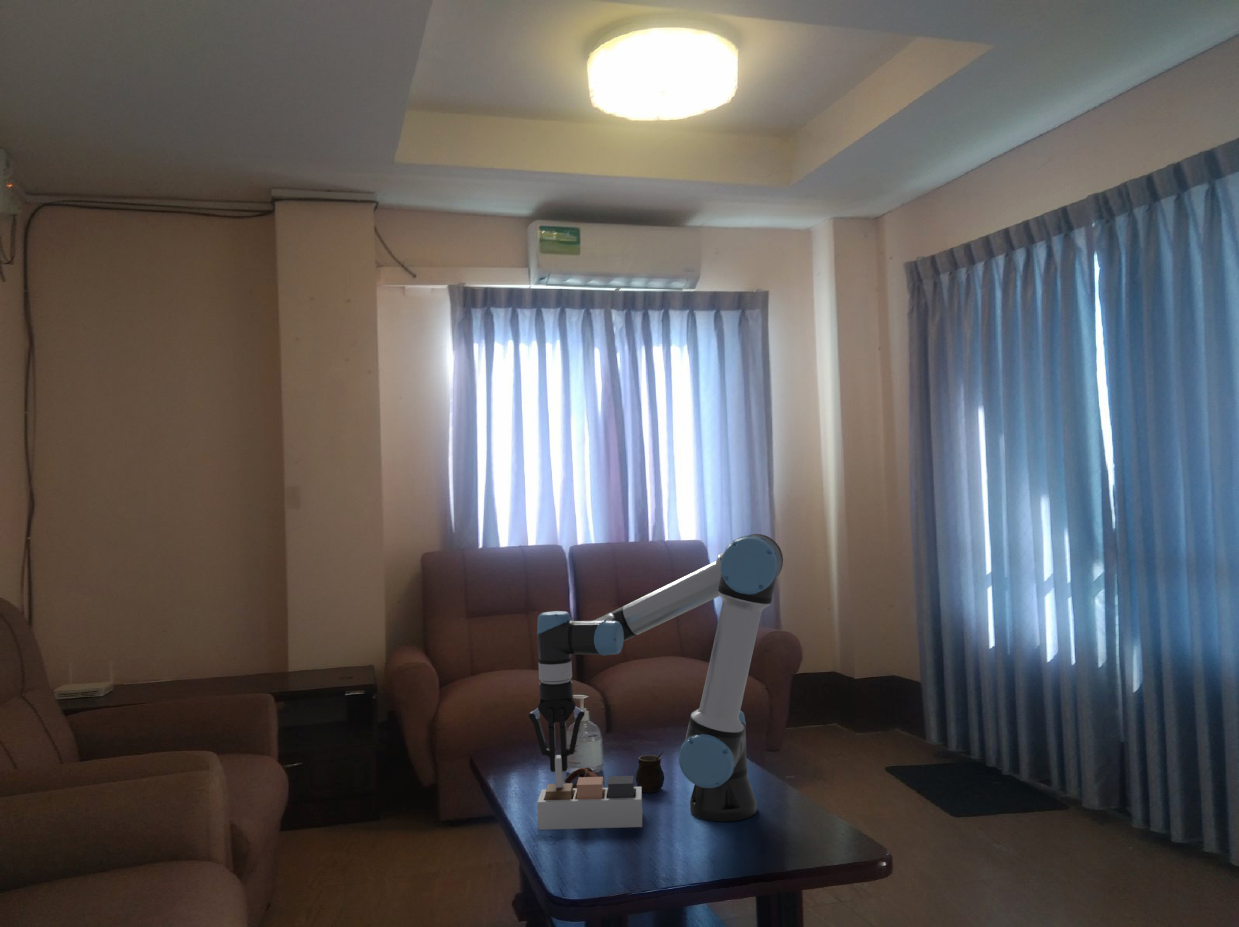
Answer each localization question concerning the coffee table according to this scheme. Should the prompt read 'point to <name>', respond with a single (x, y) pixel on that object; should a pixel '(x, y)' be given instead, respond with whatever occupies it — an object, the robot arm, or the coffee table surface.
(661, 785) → the mate gourd
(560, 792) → the walnut key
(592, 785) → the terracotta key
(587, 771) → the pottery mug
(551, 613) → the robot arm
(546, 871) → the coffee table surface
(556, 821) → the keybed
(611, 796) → the black rubber key
